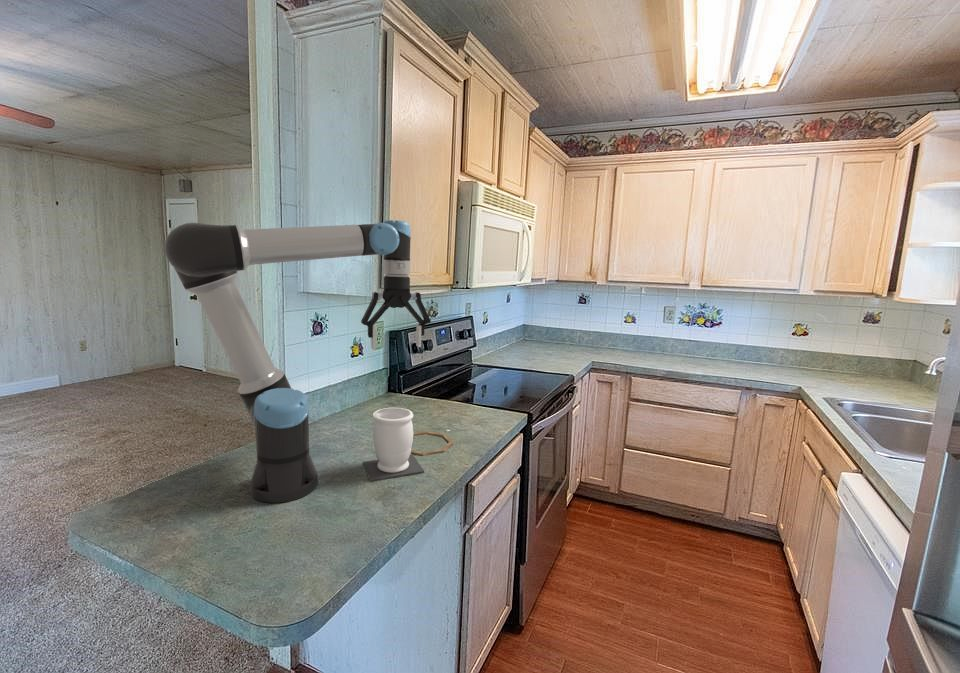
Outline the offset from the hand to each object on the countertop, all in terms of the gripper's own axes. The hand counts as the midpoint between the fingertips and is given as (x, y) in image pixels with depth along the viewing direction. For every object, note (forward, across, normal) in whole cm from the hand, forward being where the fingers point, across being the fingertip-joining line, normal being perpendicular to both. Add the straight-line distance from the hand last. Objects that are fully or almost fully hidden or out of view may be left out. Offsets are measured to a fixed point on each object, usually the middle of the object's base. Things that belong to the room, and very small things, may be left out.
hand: (396, 347), depth 135 cm
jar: (+29, -5, -17) cm, 34 cm away
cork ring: (+30, +8, -4) cm, 31 cm away
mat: (+30, -5, -17) cm, 35 cm away
